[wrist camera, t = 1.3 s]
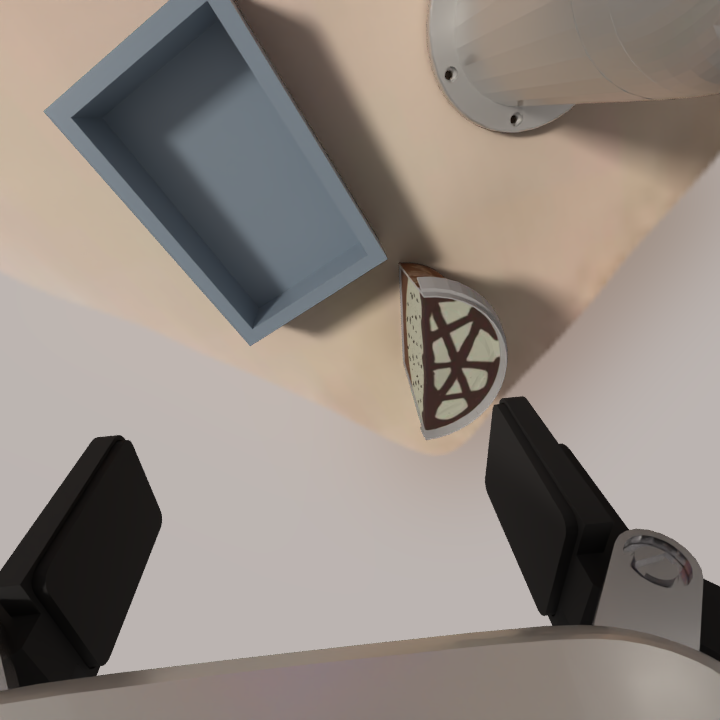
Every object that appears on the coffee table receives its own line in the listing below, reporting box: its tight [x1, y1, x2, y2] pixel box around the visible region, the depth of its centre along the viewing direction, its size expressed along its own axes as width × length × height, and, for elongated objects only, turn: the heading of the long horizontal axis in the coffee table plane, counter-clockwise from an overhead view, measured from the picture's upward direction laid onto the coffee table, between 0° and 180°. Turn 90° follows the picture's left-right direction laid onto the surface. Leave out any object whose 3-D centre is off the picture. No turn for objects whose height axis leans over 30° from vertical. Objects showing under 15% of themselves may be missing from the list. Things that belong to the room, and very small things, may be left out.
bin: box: [44, 0, 388, 346], centre depth 29 cm, size 12×18×5 cm, turn 32°
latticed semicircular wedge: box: [399, 263, 507, 440], centre depth 33 cm, size 12×6×10 cm, turn 5°
